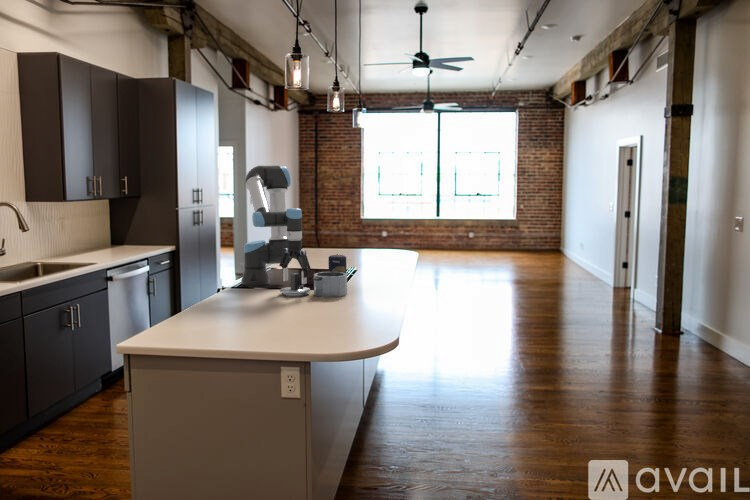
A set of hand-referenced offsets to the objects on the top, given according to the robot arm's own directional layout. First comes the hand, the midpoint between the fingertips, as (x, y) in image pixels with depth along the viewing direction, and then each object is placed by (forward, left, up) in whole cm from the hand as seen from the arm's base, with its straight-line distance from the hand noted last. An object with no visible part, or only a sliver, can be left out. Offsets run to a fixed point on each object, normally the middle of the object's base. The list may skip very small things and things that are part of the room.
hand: (294, 282), depth 301 cm
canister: (+3, +28, -6) cm, 29 cm away
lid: (0, 0, -6) cm, 6 cm away
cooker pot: (+13, +12, -6) cm, 19 cm away
